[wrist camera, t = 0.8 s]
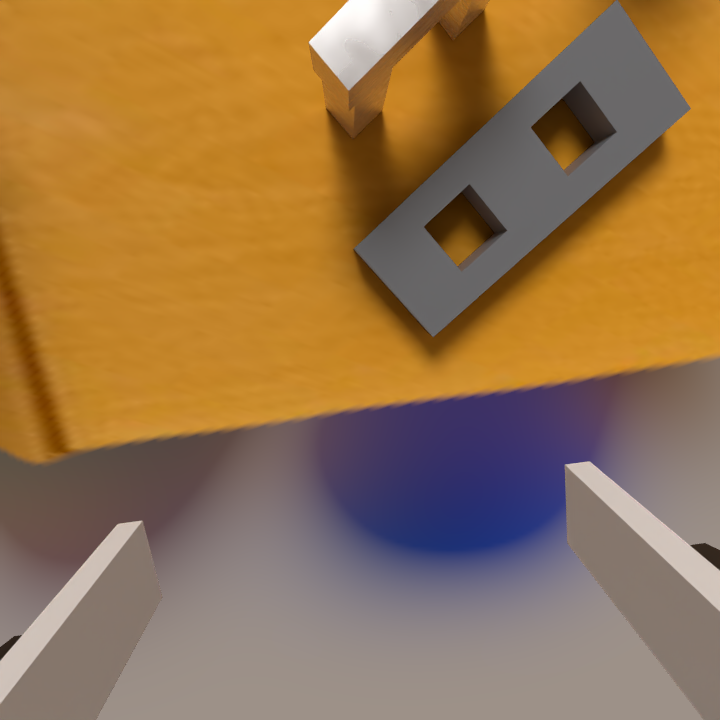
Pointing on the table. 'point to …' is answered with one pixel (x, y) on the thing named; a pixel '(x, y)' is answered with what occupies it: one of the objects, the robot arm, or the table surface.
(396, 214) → the grey slotted base plate
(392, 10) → the light gray u-shaped block
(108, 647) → the robot arm
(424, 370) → the table surface
